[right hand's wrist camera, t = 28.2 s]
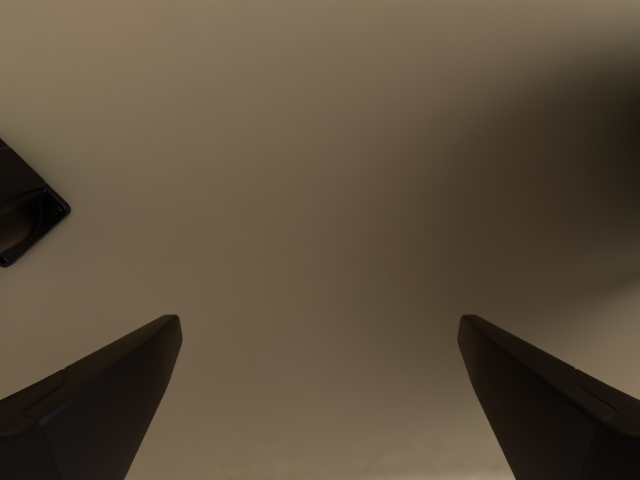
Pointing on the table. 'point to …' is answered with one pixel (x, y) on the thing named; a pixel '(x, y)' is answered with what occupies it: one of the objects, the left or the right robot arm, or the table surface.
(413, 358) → the table surface
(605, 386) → the right robot arm
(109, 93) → the table surface
